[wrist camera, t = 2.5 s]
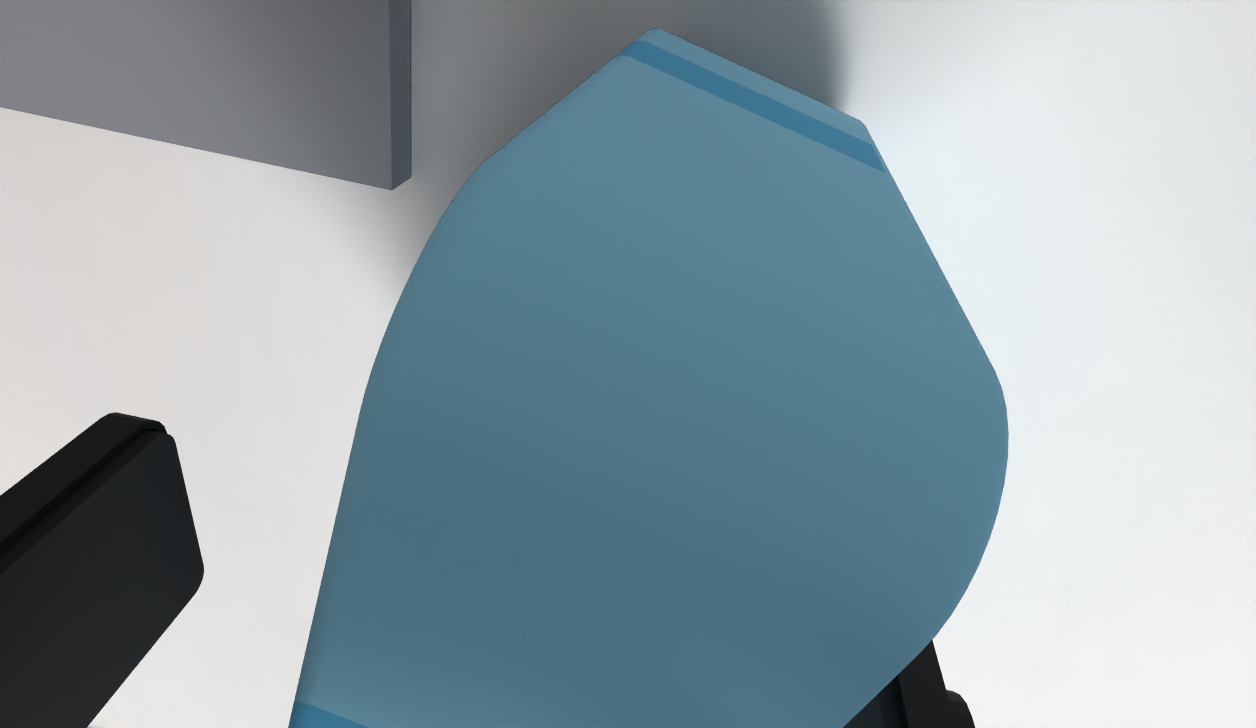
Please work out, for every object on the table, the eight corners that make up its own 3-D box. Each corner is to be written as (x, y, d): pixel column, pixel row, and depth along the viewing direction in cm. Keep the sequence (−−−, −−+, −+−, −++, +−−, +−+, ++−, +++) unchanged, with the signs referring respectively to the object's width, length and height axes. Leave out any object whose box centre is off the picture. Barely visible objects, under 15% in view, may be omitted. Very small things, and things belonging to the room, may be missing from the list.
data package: (658, 14, 14) (390, 211, 4) (863, 108, 14) (1094, 515, 4) (496, 445, 21) (233, 944, 10) (641, 505, 21) (523, 1049, 11)
